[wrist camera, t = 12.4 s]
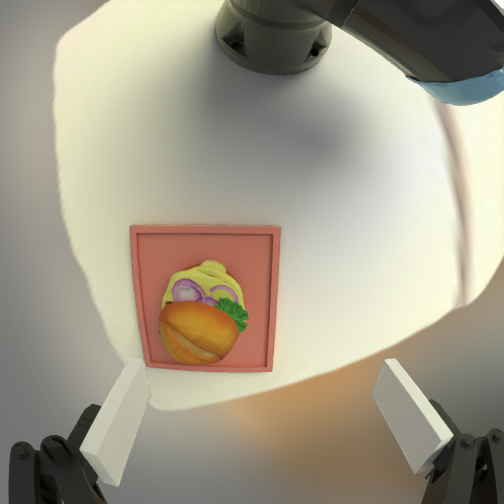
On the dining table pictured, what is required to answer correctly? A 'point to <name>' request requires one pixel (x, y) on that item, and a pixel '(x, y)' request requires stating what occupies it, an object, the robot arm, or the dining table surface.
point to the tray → (235, 262)
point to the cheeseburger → (202, 314)
